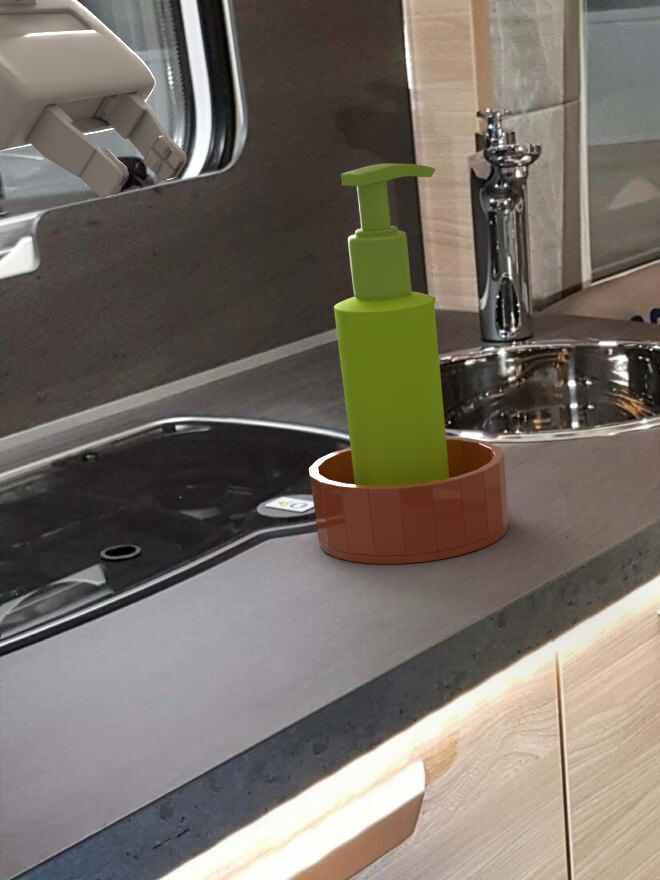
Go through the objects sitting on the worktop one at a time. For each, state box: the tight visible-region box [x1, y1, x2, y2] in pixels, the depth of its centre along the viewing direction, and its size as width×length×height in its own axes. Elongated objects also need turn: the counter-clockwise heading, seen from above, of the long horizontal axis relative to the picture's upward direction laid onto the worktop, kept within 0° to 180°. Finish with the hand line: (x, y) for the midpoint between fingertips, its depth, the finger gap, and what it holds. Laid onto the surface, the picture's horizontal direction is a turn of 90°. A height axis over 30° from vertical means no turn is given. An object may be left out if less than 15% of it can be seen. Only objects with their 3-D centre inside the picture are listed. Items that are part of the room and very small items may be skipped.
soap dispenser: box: [333, 162, 449, 486], centre depth 92 cm, size 6×7×20 cm
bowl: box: [308, 436, 509, 565], centre depth 97 cm, size 12×12×4 cm
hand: (149, 178), depth 89 cm, fingers open, 8 cm apart
